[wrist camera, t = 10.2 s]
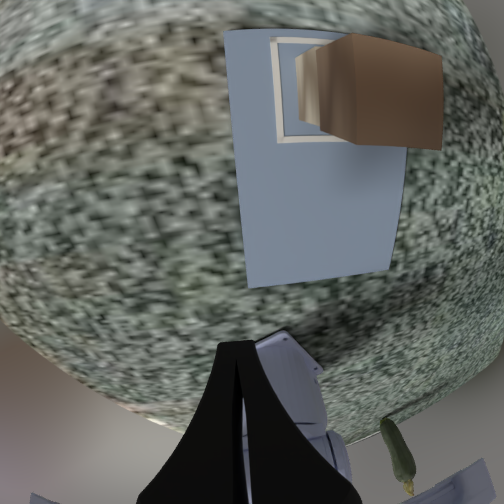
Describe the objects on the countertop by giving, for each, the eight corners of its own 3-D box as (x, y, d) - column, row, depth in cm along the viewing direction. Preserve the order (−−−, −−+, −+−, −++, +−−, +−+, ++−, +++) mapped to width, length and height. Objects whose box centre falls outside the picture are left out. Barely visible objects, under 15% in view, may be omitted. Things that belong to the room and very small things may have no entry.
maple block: (359, 121, 15) (391, 129, 12) (299, 120, 15) (319, 126, 11) (356, 62, 13) (390, 56, 10) (295, 58, 13) (315, 46, 9)
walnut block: (391, 133, 12) (441, 150, 8) (320, 130, 12) (356, 145, 8) (390, 60, 10) (441, 56, 6) (315, 50, 9) (351, 32, 6)
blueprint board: (385, 265, 22) (389, 270, 21) (247, 283, 22) (248, 289, 21) (400, 47, 12) (406, 46, 12) (223, 33, 12) (223, 30, 12)
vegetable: (377, 416, 42) (404, 500, 25) (397, 408, 41) (426, 490, 24) (375, 423, 44) (400, 501, 27) (393, 415, 44) (420, 492, 27)
